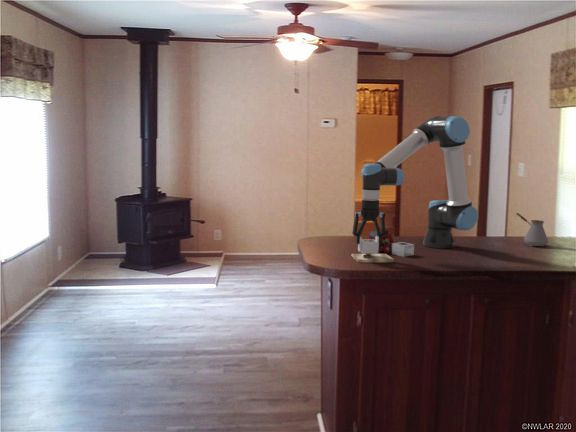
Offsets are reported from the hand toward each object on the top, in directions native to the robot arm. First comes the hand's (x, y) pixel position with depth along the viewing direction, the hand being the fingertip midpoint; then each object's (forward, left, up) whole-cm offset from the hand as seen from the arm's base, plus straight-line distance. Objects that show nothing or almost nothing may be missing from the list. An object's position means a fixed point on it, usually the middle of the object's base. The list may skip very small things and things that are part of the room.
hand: (368, 251), depth 262 cm
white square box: (0, 0, 0) cm, 0 cm away
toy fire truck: (-11, -17, -4) cm, 20 cm away
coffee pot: (-96, -34, -4) cm, 102 cm away
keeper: (-2, 0, -4) cm, 4 cm away
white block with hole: (-19, -10, -4) cm, 22 cm away
